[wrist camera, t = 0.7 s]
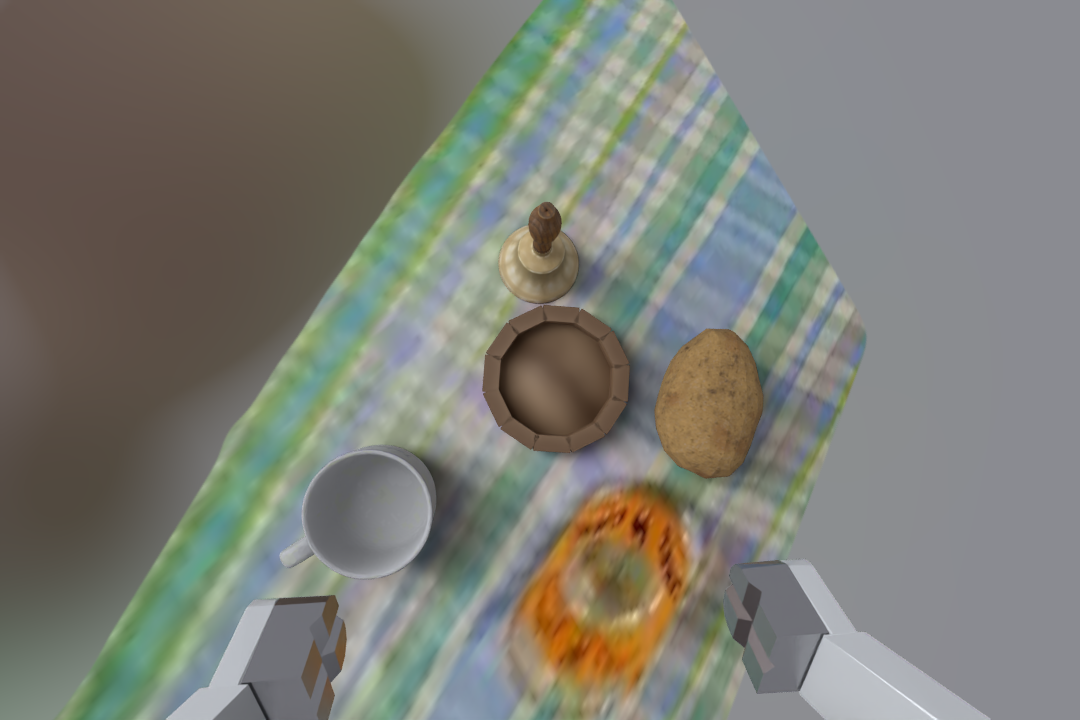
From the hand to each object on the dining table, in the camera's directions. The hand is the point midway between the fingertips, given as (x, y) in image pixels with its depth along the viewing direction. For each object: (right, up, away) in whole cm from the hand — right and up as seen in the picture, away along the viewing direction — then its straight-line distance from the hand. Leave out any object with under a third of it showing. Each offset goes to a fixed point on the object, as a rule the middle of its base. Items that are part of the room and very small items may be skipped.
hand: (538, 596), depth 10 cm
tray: (+1, +3, +41) cm, 41 cm away
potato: (+16, +1, +42) cm, 45 cm away
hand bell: (0, +15, +42) cm, 44 cm away
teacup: (-16, -9, +39) cm, 44 cm away
